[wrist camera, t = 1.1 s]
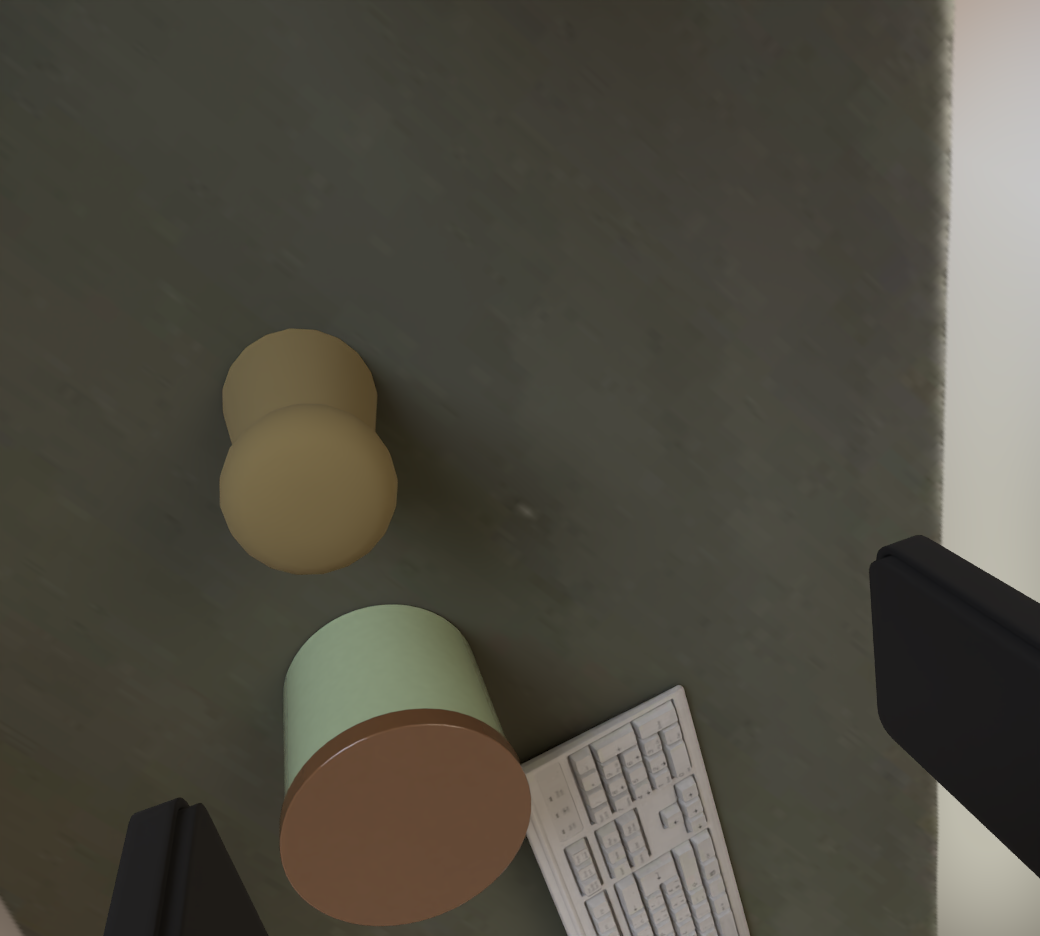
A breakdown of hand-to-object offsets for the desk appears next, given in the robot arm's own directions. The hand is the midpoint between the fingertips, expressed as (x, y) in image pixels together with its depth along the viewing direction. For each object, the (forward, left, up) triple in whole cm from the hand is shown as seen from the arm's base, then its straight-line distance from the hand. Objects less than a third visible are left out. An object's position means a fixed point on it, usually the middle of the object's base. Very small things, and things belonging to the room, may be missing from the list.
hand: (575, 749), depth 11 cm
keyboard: (+36, -8, -25) cm, 45 cm away
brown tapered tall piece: (0, -4, -25) cm, 25 cm away
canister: (+13, -10, -25) cm, 30 cm away
